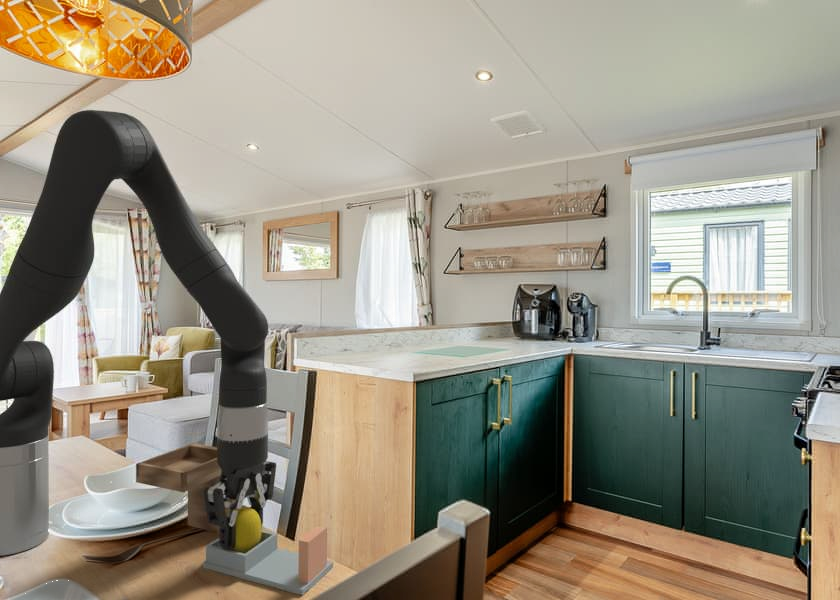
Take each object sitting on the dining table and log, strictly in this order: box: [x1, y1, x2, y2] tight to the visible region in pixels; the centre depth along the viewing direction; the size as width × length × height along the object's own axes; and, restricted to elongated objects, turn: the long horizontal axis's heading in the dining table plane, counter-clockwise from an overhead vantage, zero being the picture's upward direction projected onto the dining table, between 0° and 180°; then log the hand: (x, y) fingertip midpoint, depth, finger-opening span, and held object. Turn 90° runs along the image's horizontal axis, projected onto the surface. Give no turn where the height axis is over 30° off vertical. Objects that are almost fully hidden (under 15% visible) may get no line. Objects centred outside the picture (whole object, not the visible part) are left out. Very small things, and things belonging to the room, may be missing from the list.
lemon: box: [232, 504, 263, 554], centre depth 81 cm, size 6×6×8 cm
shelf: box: [135, 443, 236, 534], centre depth 87 cm, size 10×12×14 cm
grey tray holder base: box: [202, 525, 334, 596], centre depth 80 cm, size 18×8×7 cm, turn 68°
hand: (242, 538), depth 81 cm, fingers closed on lemon, 5 cm apart
